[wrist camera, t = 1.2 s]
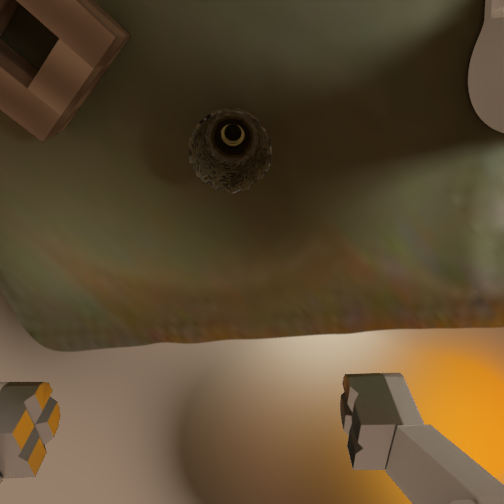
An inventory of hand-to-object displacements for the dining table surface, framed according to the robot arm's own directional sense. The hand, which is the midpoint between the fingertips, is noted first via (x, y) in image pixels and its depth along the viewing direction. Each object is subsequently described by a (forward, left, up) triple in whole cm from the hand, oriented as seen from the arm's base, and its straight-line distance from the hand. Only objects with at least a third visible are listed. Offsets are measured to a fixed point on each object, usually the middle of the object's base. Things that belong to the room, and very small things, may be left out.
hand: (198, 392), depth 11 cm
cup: (+1, +1, -35) cm, 35 cm away
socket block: (+7, -18, -35) cm, 40 cm away
